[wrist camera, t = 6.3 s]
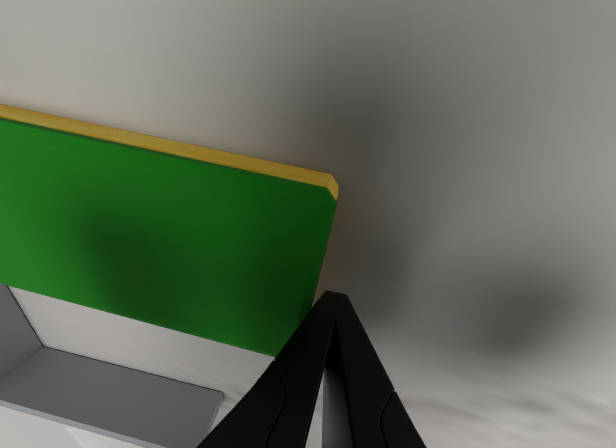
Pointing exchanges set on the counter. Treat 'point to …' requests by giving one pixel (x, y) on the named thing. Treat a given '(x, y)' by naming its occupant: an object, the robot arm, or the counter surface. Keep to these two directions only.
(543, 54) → the counter surface
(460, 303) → the counter surface
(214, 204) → the dish sponge
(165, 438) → the frame
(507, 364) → the counter surface
